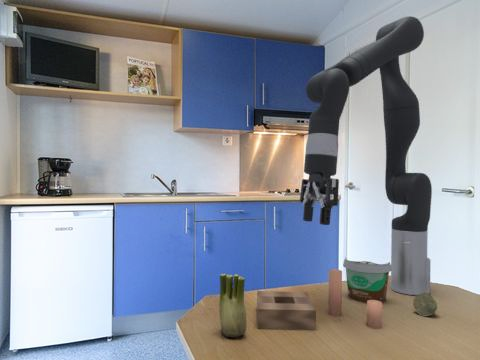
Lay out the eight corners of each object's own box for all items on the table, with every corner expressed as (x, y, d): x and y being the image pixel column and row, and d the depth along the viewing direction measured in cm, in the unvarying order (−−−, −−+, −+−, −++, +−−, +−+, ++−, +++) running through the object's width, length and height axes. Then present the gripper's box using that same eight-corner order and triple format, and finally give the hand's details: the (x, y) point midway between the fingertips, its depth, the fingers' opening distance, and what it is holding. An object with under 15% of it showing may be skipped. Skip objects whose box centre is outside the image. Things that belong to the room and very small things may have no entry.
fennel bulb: (215, 331, 73) (216, 272, 73) (237, 326, 75) (237, 269, 75) (228, 342, 68) (229, 279, 68) (250, 337, 70) (251, 276, 70)
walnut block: (306, 308, 86) (307, 292, 86) (315, 329, 74) (315, 310, 74) (257, 307, 86) (257, 290, 86) (257, 328, 74) (258, 309, 74)
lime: (439, 319, 80) (439, 297, 80) (416, 317, 81) (416, 295, 81) (433, 312, 84) (433, 291, 84) (411, 310, 85) (411, 289, 85)
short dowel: (378, 322, 78) (379, 299, 78) (383, 328, 75) (384, 304, 75) (365, 322, 78) (365, 299, 78) (369, 328, 75) (369, 304, 75)
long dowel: (339, 311, 84) (340, 269, 84) (343, 316, 81) (343, 272, 81) (327, 311, 84) (327, 269, 84) (329, 316, 81) (330, 272, 81)
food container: (338, 299, 92) (338, 261, 92) (343, 293, 98) (343, 256, 98) (389, 308, 86) (390, 267, 86) (391, 300, 92) (392, 262, 92)
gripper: (352, 154, 79) (346, 227, 78) (321, 158, 92) (315, 221, 92) (321, 149, 77) (315, 225, 76) (294, 155, 90) (288, 219, 90)
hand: (315, 222), depth 84 cm, fingers open, 8 cm apart
